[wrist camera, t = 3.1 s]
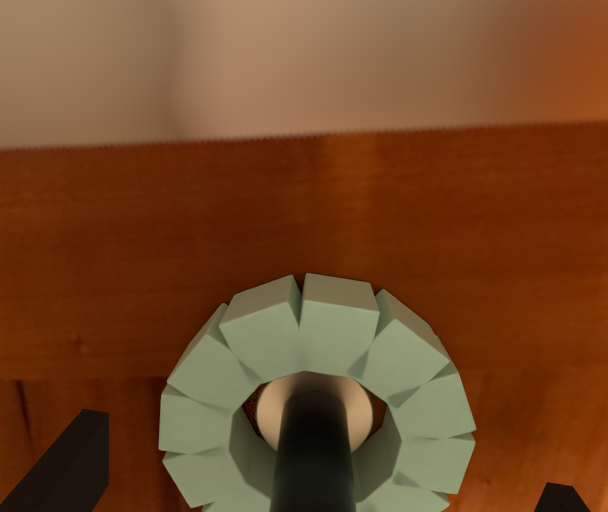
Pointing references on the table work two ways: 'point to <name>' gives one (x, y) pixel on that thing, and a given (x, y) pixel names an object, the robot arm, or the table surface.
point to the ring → (321, 359)
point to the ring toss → (314, 439)
